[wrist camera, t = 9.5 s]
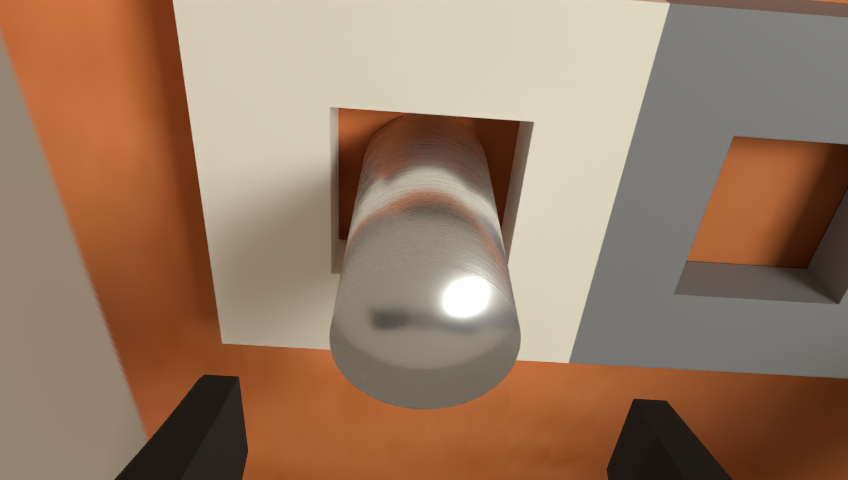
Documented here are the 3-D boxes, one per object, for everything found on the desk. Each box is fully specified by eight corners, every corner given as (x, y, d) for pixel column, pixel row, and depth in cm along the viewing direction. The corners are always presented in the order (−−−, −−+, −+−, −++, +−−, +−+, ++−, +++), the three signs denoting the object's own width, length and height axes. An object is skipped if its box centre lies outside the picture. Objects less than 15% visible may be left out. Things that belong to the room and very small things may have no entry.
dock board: (1070, 21, 17) (1141, 41, 15) (865, 342, 23) (899, 381, 22) (194, -50, 16) (167, -37, 14) (237, 306, 22) (222, 343, 21)
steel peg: (495, 117, 18) (536, 272, 12) (479, 228, 21) (505, 413, 14) (363, 107, 18) (328, 259, 12) (361, 221, 20) (330, 404, 14)
